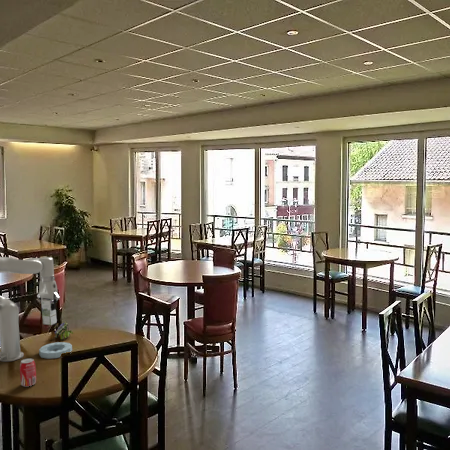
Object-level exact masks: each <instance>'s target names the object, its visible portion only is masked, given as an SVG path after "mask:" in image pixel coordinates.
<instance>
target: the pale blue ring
mask: <svg viewBox="0 0 450 450" xmlns="http://www.w3.org/2000/svg"><path fill="white" fill-rule="evenodd" d="M71 351H73V345H72V344H71V343H70V342H64V341H63V342H59V341H57V342H51V343H47V344H45V345H43V346H41V347H40V348H39V349H38V353H39V354H38V355H39V357H40V358H42V359H43V358H44V359H48V360H49V359H58V358H61V357H60V356H61V354H62V353H66V352H71ZM71 353H72V352H71Z"/></svg>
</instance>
